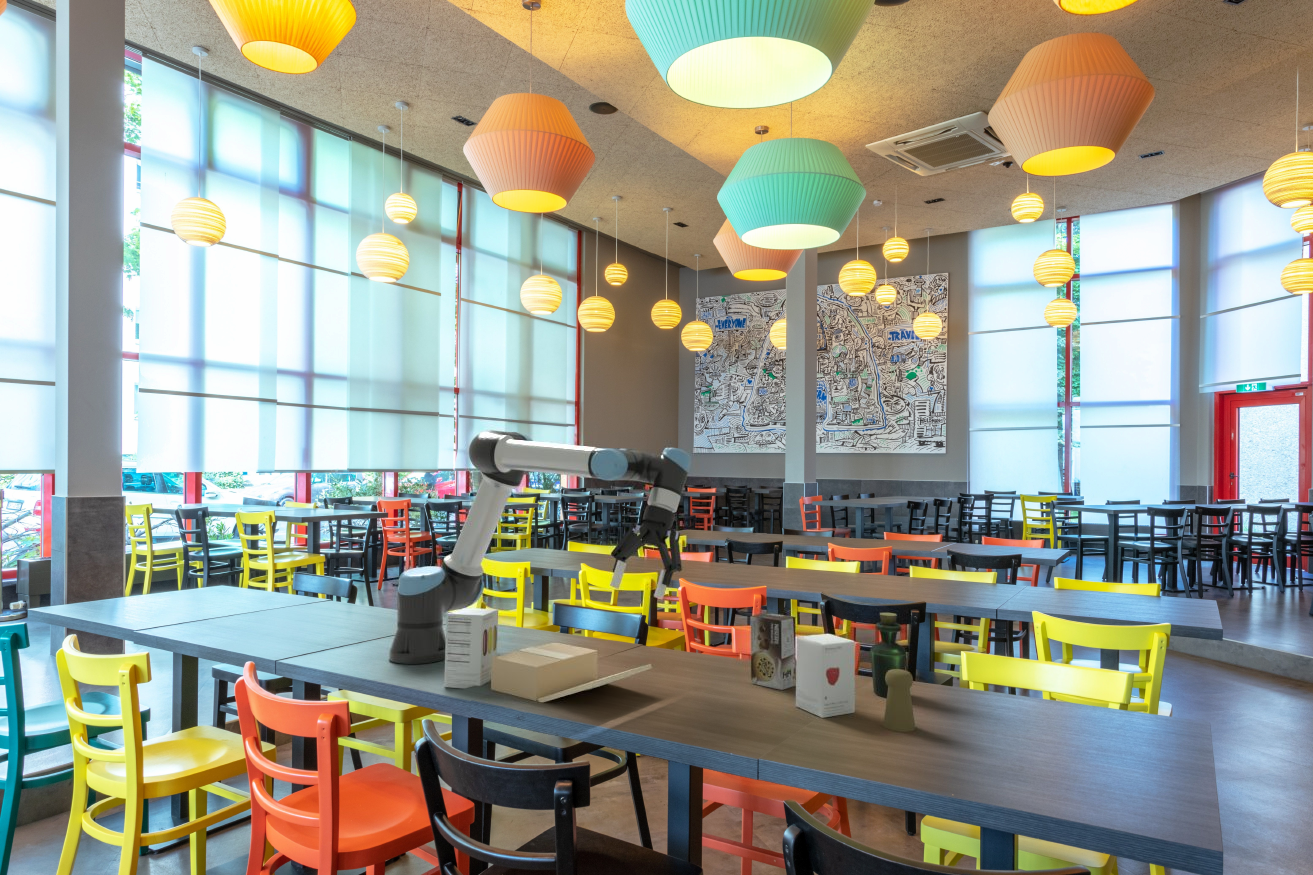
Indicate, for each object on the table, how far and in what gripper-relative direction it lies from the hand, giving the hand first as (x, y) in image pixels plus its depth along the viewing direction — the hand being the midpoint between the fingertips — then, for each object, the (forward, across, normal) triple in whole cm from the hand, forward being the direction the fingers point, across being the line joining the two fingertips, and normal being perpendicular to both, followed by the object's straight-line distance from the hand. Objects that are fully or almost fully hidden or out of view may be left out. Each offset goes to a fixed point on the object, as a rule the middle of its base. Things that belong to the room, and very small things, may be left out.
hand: (635, 592), depth 182 cm
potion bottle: (+5, -52, -34) cm, 62 cm away
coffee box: (+11, -28, -25) cm, 39 cm away
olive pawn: (+12, -62, -14) cm, 65 cm away
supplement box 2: (+13, -46, -15) cm, 50 cm away
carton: (+27, +10, +9) cm, 30 cm away
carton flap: (+25, +2, +9) cm, 27 cm away
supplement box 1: (+31, +26, +16) cm, 44 cm away
